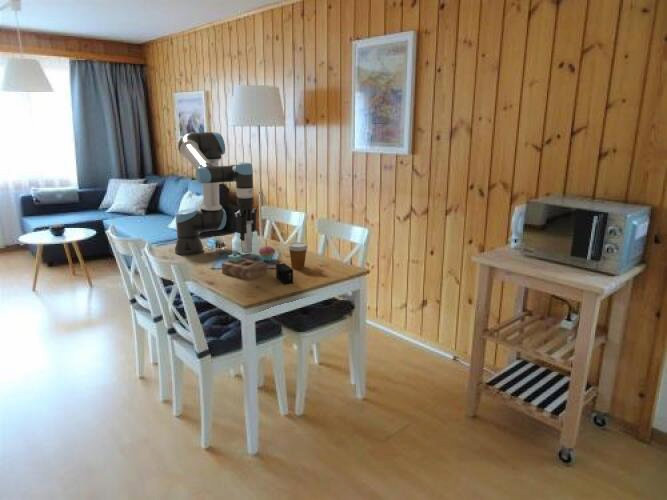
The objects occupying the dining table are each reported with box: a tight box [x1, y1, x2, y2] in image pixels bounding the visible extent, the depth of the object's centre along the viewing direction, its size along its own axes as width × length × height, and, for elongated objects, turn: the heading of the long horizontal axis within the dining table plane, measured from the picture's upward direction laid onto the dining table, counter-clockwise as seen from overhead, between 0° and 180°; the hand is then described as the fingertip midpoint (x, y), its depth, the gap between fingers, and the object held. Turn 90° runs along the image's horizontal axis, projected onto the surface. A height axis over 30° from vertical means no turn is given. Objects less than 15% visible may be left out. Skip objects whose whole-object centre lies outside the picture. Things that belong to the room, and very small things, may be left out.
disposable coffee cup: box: [288, 242, 308, 270], centre depth 231 cm, size 10×10×12 cm
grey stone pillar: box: [242, 219, 253, 254], centre depth 216 cm, size 5×5×16 cm
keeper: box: [227, 253, 243, 262], centre depth 224 cm, size 5×4×3 cm
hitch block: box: [221, 257, 268, 281], centre depth 222 cm, size 18×12×6 cm, turn 58°
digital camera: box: [275, 262, 294, 286], centre depth 212 cm, size 10×5×7 cm, turn 28°
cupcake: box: [258, 239, 276, 262], centre depth 242 cm, size 9×8×12 cm
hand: (246, 245), depth 217 cm, fingers closed on grey stone pillar, 3 cm apart
